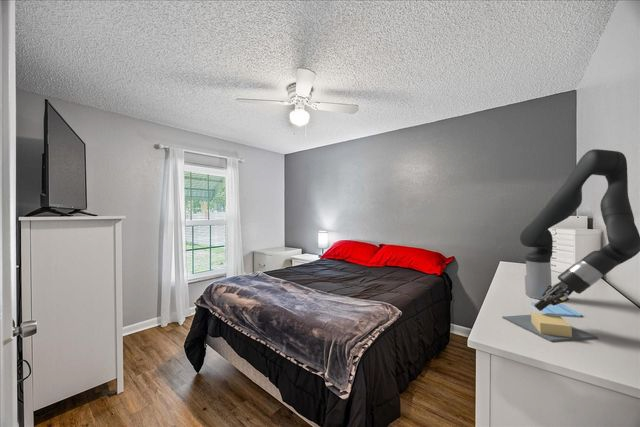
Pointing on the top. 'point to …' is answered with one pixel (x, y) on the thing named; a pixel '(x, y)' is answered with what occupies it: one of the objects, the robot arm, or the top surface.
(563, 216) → the robot arm
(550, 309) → the light blue flat slab
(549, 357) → the top surface
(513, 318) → the mat
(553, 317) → the yellow block
